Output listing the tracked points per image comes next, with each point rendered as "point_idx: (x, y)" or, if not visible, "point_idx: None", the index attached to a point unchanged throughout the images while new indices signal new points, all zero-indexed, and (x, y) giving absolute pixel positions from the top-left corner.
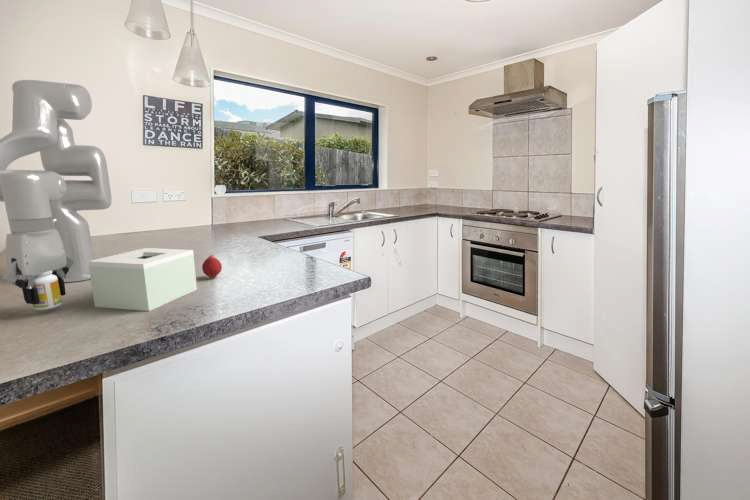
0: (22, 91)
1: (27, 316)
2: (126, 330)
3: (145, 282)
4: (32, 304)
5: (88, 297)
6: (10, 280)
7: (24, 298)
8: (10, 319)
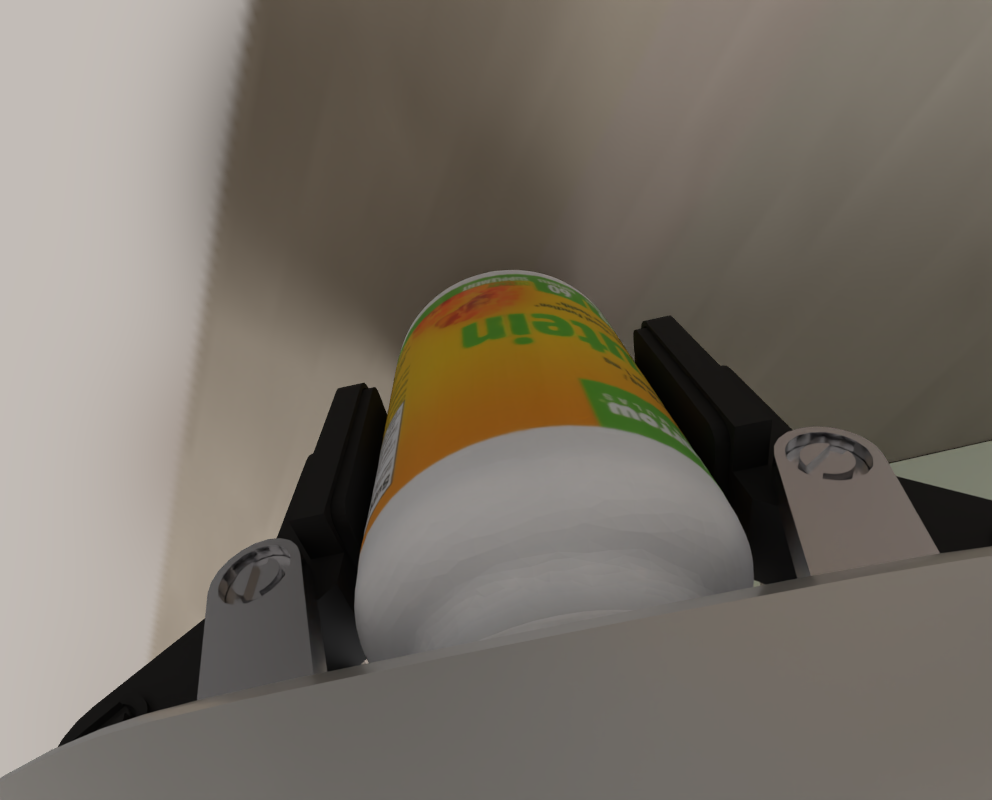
0: None
1: (358, 302)
2: None
3: None
4: (395, 373)
5: (907, 212)
6: None
7: (306, 470)
8: (242, 253)
